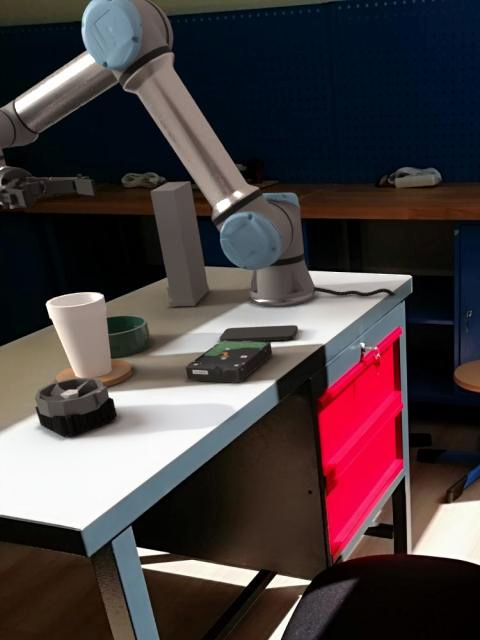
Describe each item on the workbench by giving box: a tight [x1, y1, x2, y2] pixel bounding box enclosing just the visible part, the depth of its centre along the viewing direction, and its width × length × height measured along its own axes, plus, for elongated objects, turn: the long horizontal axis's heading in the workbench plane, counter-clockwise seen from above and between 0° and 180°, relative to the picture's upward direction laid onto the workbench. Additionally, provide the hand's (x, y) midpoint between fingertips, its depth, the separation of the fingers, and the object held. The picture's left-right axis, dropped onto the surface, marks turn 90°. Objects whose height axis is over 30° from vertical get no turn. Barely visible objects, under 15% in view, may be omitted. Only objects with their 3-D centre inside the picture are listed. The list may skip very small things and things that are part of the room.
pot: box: [106, 314, 152, 359], centre depth 150 cm, size 13×13×4 cm
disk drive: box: [184, 340, 273, 383], centre depth 137 cm, size 10×3×15 cm
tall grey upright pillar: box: [150, 180, 210, 308], centre depth 175 cm, size 14×6×25 cm, turn 178°
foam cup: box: [45, 291, 112, 378], centre depth 133 cm, size 10×9×13 cm
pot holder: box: [55, 359, 133, 388], centre depth 137 cm, size 13×13×1 cm
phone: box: [219, 324, 299, 343], centre depth 153 cm, size 7×1×15 cm
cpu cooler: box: [34, 378, 118, 438], centre depth 118 cm, size 10×6×10 cm
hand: (61, 193), depth 142 cm, fingers open, 13 cm apart
